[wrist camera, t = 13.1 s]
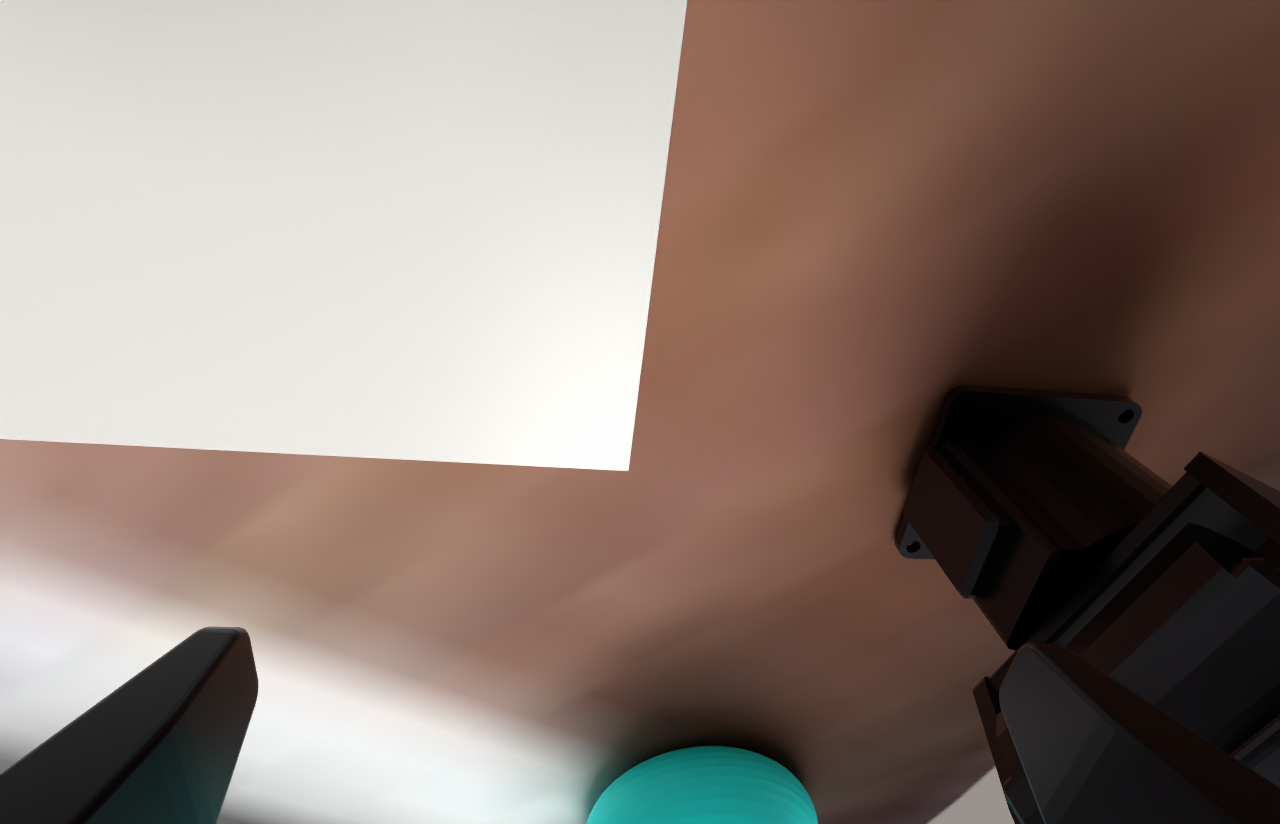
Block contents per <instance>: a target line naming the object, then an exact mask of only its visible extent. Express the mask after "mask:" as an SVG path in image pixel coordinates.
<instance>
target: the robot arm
mask: <svg viewBox="0 0 1280 824" xmlns="http://www.w3.org/2000/svg"><path fill="white" fill-rule="evenodd" d="M966 398H967V401H966V403H965V404H964V405H962V406H961V407H958V404H959V403H960V401H962V400H963V399H966ZM1123 411H1124V413H1123V414H1122V415H1121V416H1119V415H1120V414H1121V412H1123ZM1141 413H1142V410H1141V407H1140V406H1139V405H1138V404H1137V403H1136V402H1134V401H1132V400H1131V399H1129V398H1126V397H1119V396H1105V395H1091V394H1077V393H1063V392H1049V391H1035V390H1021V389H1007V388H993V387H979V386H965V385H964V386H958V387H956V388H954V389H952V390H951V391H950V392H949V393H948V394H947V395H946V397H945V399H944V402H943V405H942V408H941V410H940V413H939V416H938V419H937V422H936V425H935V428H934V430H933V433H932V436H931V439H930V442H929V445H928V447H927V449H926V450H925V451H924V452H923V455H922V458H921V461H920V464H919V466H918V469H917V472H916V475H915V478H914V481H913V484H912V486H911V489H910V492H909V495H908V498H907V501H906V504H905V506H904V509H903V514H904V516H903V518H902V521H901V524H900V527H899V530H898V533H897V536H896V538H895V545H896V548H897V549H898V551H899V552H900V554H901V555H902V556H904V557H906V558H914V559H935V560H936V561H937V562H938V564H939V565H940V567H941V568H942V570H943V571H944V572H945V574H946V575H947V577H948V578H949V579H950V581H951V582H952V584H953V585H954V587H955V588H956V589H957V591H958V592H959V593H960V595H961V596H962V597H963V598H969V599H973V600H974V601H975V602H976V604H977V605H978V607H979V608H980V609H981V611H982V612H983V613H984V615H985V616H986V618H987V619H988V620H989V622H990V623H991V625H992V626H993V627H994V629H995V630H996V631H997V633H998V634H999V636H1000V637H1001V638H1002V640H1003V641H1004V643H1005V644H1006V645H1007V647H1008V648H1009V649H1012V650H1016V651H1015V652H1014V653H1013V654H1012V655H1011V656H1010V657H1009V658H1008V659H1007V660H1006V661H1005V662H1004V663H1003V664H1002V665H1001V666H1000V667H999V668H998V669H997V670H996V671H995V672H994V674H993V675H992V676H991V677H984V678H983V680H982V681H981V682H980V683H979V684H978V685H977V686H976V687H975V688H974V689H973V694H974V697H975V700H976V704H977V707H978V710H979V713H980V717H981V720H982V723H983V726H984V730H985V733H986V736H987V739H988V743H989V746H990V749H991V752H992V756H993V759H994V762H995V765H996V769H997V772H998V775H999V778H1000V782H1001V785H1002V788H1003V791H1004V794H1005V798H1006V801H1007V804H1008V807H1009V810H1010V813H1011V815H1012V817H1013V820H1014V822H1015V824H1280V491H1278V490H1276V489H1274V488H1272V487H1270V486H1268V485H1266V484H1264V483H1262V482H1260V481H1258V480H1256V479H1254V478H1252V477H1250V476H1248V475H1246V474H1244V473H1242V472H1240V471H1238V470H1236V469H1234V468H1232V467H1230V466H1228V465H1226V464H1224V463H1222V462H1220V461H1218V460H1217V459H1215V458H1213V457H1211V456H1209V455H1207V454H1205V453H1203V452H1199V453H1198V454H1197V455H1196V456H1195V457H1194V458H1193V459H1192V460H1191V461H1190V463H1189V464H1188V465H1187V466H1186V467H1185V468H1184V469H1185V470H1186V471H1187V472H1186V473H1185V474H1184V475H1183V476H1182V477H1181V478H1180V479H1179V481H1178V482H1177V483H1176V484H1175V485H1174V486H1171V485H1170V484H1169V483H1167V482H1166V481H1165V480H1163V479H1162V478H1161V477H1159V476H1158V475H1157V474H1155V473H1154V472H1152V471H1151V470H1150V469H1148V468H1147V467H1146V466H1144V465H1143V464H1142V463H1140V462H1139V461H1137V460H1136V459H1135V458H1133V457H1132V456H1131V455H1129V454H1128V453H1127V452H1125V451H1124V449H1125V447H1126V445H1127V443H1128V441H1129V439H1130V437H1131V435H1132V433H1133V431H1134V429H1135V427H1136V425H1137V423H1138V421H1139V419H1140V416H1141ZM913 541H915V542H914V543H913V544H911V545H908V544H909V543H911V542H913ZM257 695H258V677H257V672H256V667H255V662H254V657H253V652H252V647H251V641H250V637H249V635H248V633H247V631H246V630H245V629H243V628H240V627H206V628H203V629H200V630H198V631H197V632H195V633H194V634H192V635H191V636H190V637H188V638H187V639H185V640H184V641H183V642H181V643H180V644H179V645H177V646H176V647H174V648H173V649H172V650H170V651H169V652H168V653H166V654H165V655H163V656H162V657H161V658H159V659H158V660H156V661H155V662H154V663H152V664H151V665H150V666H148V667H147V668H145V669H144V670H143V671H141V672H140V673H139V674H137V675H136V676H134V677H133V678H132V679H130V680H129V681H128V682H126V683H125V684H123V685H122V686H121V687H119V688H118V689H116V690H115V691H114V692H112V693H111V694H110V695H108V696H107V697H105V698H104V699H103V700H101V701H100V702H99V703H97V704H96V705H94V706H93V707H92V708H90V709H89V710H88V711H86V712H85V713H83V714H82V715H81V716H79V717H78V718H77V719H75V720H74V721H72V722H71V723H70V724H68V725H67V726H65V727H64V728H63V729H61V730H60V731H59V732H57V733H56V734H54V735H53V736H52V737H50V738H49V739H48V740H46V741H45V742H43V743H42V744H41V745H39V746H38V747H37V748H35V749H34V750H32V751H31V752H30V753H28V754H27V755H25V756H24V757H23V758H21V759H20V760H19V761H17V762H16V763H14V764H13V765H12V766H10V767H9V768H8V769H6V770H5V771H3V772H2V773H1V774H0V824H217V821H218V818H219V815H220V812H221V809H222V806H223V803H224V800H225V796H226V793H227V790H228V787H229V784H230V781H231V778H232V775H233V772H234V769H235V766H236V763H237V760H238V757H239V753H240V750H241V747H242V744H243V741H244V738H245V735H246V732H247V729H248V726H249V723H250V720H251V717H252V713H253V710H254V707H255V704H256V700H257Z"/></svg>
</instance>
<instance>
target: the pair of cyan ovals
mask: <svg viewBox="0 0 1280 824" xmlns="http://www.w3.org/2000/svg"><path fill="white" fill-rule="evenodd" d="M587 824H818V822H817V816H816V812H815V809H814V806H813V803H812V800H811V798H810V796H809V794H808V793H807V791H806V790H805V788H804V786H803V785H802V784H801V782H800V781H799V780H798V779H797V778H796V777H795V776H794V775H793V774H792V773H791V772H790V771H789V770H787V769H786V768H785V767H784V766H782V765H781V764H779V763H778V762H776V761H774V760H772V759H770V758H768V757H766V756H763V755H761V754H758V753H756V752H752V751H749V750H745V749H740V748H735V747H727V746H699V747H690V748H684V749H679V750H675V751H671V752H667V753H663V754H661V755H658V756H655V757H653V758H650V759H648V760H646V761H644V762H642V763H640V764H638V765H636V766H634V767H633V768H631V769H630V770H628V771H627V772H625V773H624V774H623V775H621V776H620V777H619V778H617V779H616V780H615V781H614V782H613V783H612V784H611V785H610V786H609V787H608V788H607V789H606V790H605V791H604V792H603V793H602V794H601V796H600V797H599V799H598V800H597V802H596V803H595V805H594V807H593V809H592V811H591V813H590V815H589V817H588V820H587Z"/></svg>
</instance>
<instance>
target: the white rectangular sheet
mask: <svg viewBox="0 0 1280 824" xmlns="http://www.w3.org/2000/svg"><path fill="white" fill-rule="evenodd" d="M686 6H687V0H0V439H14V440H34V441H53V442H73V443H93V444H112V445H132V446H151V447H171V448H190V449H210V450H229V451H249V452H268V453H288V454H308V455H327V456H347V457H366V458H386V459H405V460H425V461H444V462H464V463H484V464H503V465H523V466H542V467H562V468H581V469H601V470H620V471H628V469H629V461H630V453H631V445H632V437H633V429H634V421H635V413H636V405H637V397H638V389H639V381H640V373H641V365H642V357H643V349H644V341H645V333H646V325H647V317H648V309H649V301H650V293H651V285H652V277H653V269H654V261H655V253H656V245H657V237H658V229H659V222H660V214H661V206H662V198H663V190H664V182H665V174H666V166H667V158H668V150H669V142H670V134H671V126H672V118H673V110H674V102H675V94H676V86H677V78H678V70H679V62H680V54H681V46H682V38H683V30H684V22H685V14H686Z"/></svg>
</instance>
